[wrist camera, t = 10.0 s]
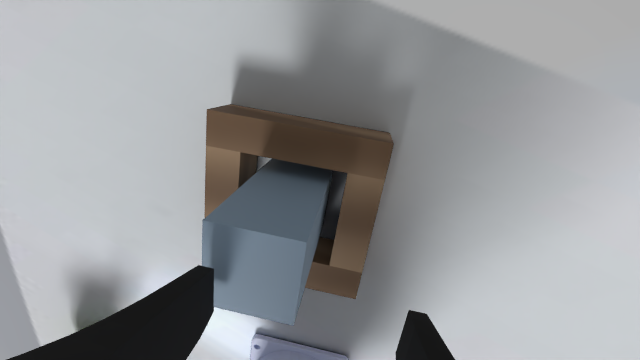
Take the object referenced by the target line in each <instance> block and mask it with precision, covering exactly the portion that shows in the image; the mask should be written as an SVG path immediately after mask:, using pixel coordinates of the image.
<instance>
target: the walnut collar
mask: <svg viewBox="0 0 640 360" xmlns="http://www.w3.org/2000/svg"><path fill="white" fill-rule="evenodd" d="M393 145H394V143H393V140H392V138H391V135H390V133H387V132H382V131H376V130H371V129H365V128H360V127H354V126H348V125H343V124H337V123H332V122H326V121H321V120H315V119H310V118H304V117H298V116H293V115H287V114H282V113H276V112H271V111H265V110H260V109H254V108H248V107H243V106H237V105H232V104H230V105H225V106H221V107H216V108H211V109H207V128H206V176H205V218H206V217H207V216H208V215H209V214H210V213H211V212H212V211H214V210H215V209H216V208H217V207H218V206H219V205H220V204H222V203H223V202H224V201H225V200H226V199H227V198H228V197H229V196H231V195H232V194H233V193H234V192H235V191H236V190H237V189H238V188H240V187H241V186H242V185H243V184H244V183H245V182H246V181H247V180H249V179H250V178H251V177H252V176H253V175H254V174H255V173H256V167H257V156H262V157H267V158H273V159H278V160H283V161H288V162H293V163H298V164H304V165H309V166H314V167H319V168H324V169H329V170H335V171H340V172H345V173H347V178H346V184H345V189H344V194H343V199H342V204H341V209H340V214H339V219H338V224H337V229H336V234H335V239H334V240H332V239H327V238H322V237H319V240H318V244H317V247H316V251H315V254H314V257H313V261H312V264H311V268H310V271H309V275H308V278H307V282H306V285H305V288H309V289H313V290H318V291H322V292H327V293H331V294H335V295H340V296H344V297H348V298H353V299H356V296H357V291H358V287H359V283H360V279H361V275H362V271H363V267H364V263H365V259H366V255H367V251H368V247H369V243H370V239H371V235H372V231H373V227H374V222H375V218H376V214H377V210H378V206H379V202H380V198H381V194H382V190H383V186H384V182H385V178H386V174H387V170H388V166H389V162H390V158H391V153H392V149H393Z"/></svg>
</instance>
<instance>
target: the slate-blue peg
mask: <svg viewBox="0 0 640 360" xmlns="http://www.w3.org/2000/svg"><path fill="white" fill-rule="evenodd" d="M332 171H333V170H329V169H324V168H319V167H314V166H309V165H304V164H298V163H293V162H288V161H283V160H278V159H273V158H272V159H271V160H270V161H269V162H268V163H267V164H265V165H264V166H263V167H262V168H261V169H260V170H259V171H258V172H256V173H255V174H254V175H253V176H252V177H251V178H250V179H249V180H247V181H246V182H245V183H244V184H243V185H242V186H241V187H240V188H238V189H237V190H236V191H235V192H234V193H233V194H232V195H231V196H229V197H228V198H227V199H226V200H225V201H224V202H223V203H222V204H220V205H219V206H218V207H217V208H216V209H215V210H214V211H212V212H211V213H210V214H209V215H208V216H207V217H206V218H205V219H203V228H202V266H204V267H209V268H214V307H217V308H221V309H225V310H229V311H233V312H237V313H242V314H246V315H250V316H254V317H258V318H262V319H267V320H271V321H275V322H279V323H283V324H288V325H292V326H294V323H295V319H296V316H297V312H298V309H299V306H300V302H301V299H302V295H303V292H304V288H305V285H306V282H307V278H308V275H309V271H310V268H311V264H312V261H313V257H314V254H315V251H316V247H317V244H318V240H319V237H320V233H321V230H322V226H323V222H324V217H325V211H326V205H327V200H328V194H329V188H330V183H331V177H332Z"/></svg>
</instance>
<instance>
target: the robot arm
mask: <svg viewBox="0 0 640 360" xmlns="http://www.w3.org/2000/svg"><path fill="white" fill-rule="evenodd" d="M213 311H214V268H209V267H204V266H200V265H198V266H197V267H195V268H193V269H191V270H190V271H188V272H186V273H185V274H183V275H182V276H180V277H178V278H177V279H175V280H173V281H172V282H170V283H168V284H167V285H165V286H163V287H162V288H160V289H158V290H157V291H155V292H153V293H151V294H150V295H148V296H146V297H145V298H143V299H141V300H139V301H137V302H135V303H134V304H132V305H130V306H128V307H126V308H124V309H123V310H121V311H119V312H117V313H115V314H113V315H111V316H109V317H107V318H105V319H103V320H101V321H99V322H97V323H95V324H93V325H91V326H89V327H86V328H84V329H82V330H80V331H78V332H75V333H73V334H71V335H69V336H66V337H64V338H61V339H59V340H56V341H54V342H51V343H49V344H46V345H44V346H41V347H39V348H36V349H34V350H31V351H29V352H26V353H24V354H21V355H18V356H15V357H13V358H10V359H7V360H186V359H187V357H188V356H189V354H190V353H191V351H192V350H193V348H194V347H195V345H196V344H197V342H198V340H199V339H200V337H201V335H202V333H203V331H204V330H205V328H206V326H207V324H208V322H209V320H210V318H211V316H212V313H213ZM250 360H349V359H348V358H347V357H346V356H344V355H341V354H337V353H333V352H329V351H325V350H320V349H316V348H312V347H308V346H304V345H300V344H296V343H292V342H288V341H284V340H280V339H276V338H272V337H268V336H264V335H259V334H257V335H254V337H253V339H252V344H251V354H250ZM396 360H455V359H454V357H453V356H452V354H451V353H450V351H449V349H448V348H447V346H446V345H445V343H444V341H443V340H442V338H441V336H440V335H439V333H438V332H437V330H436V328H435V327H434V325H433V323H432V322H431V320H430V319H429V317H428V315H427V314H425V313H420V312H415V311H411V310H409V311H408V314H407V318H406V321H405V324H404V328H403V331H402V334H401V337H400V341H399V344H398V347H397V351H396Z"/></svg>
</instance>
